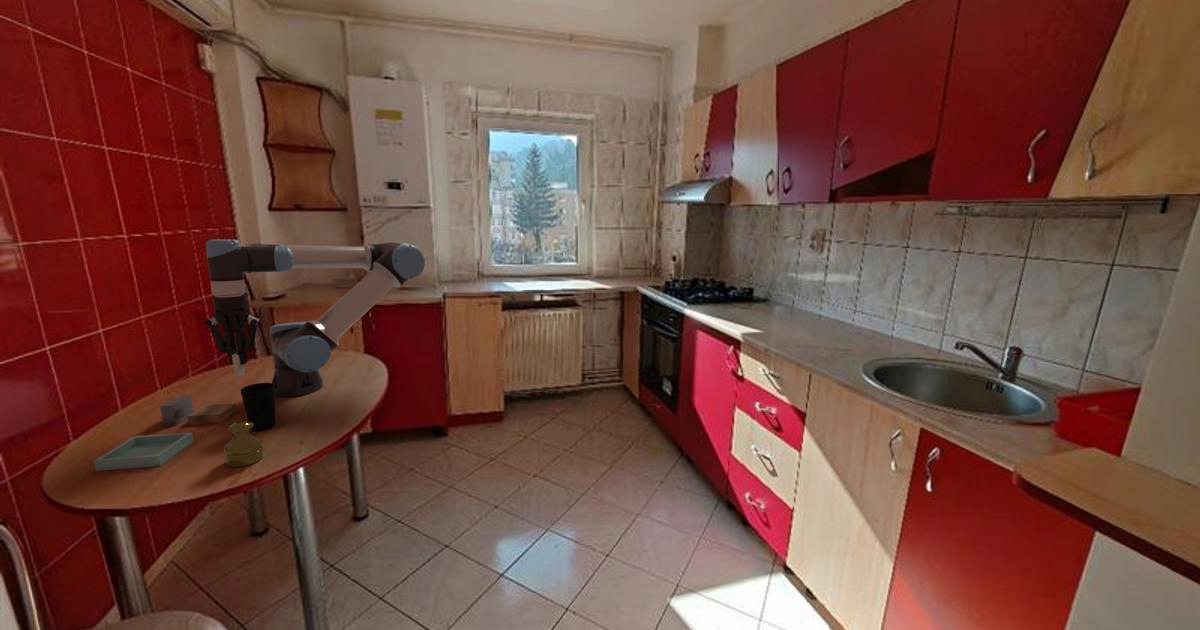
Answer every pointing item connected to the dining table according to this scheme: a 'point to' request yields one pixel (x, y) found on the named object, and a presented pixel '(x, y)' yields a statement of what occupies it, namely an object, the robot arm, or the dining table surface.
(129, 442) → the tray
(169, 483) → the dining table surface
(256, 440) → the olive yellow vase
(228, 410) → the tan square block
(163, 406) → the block
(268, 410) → the cup
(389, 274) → the robot arm
